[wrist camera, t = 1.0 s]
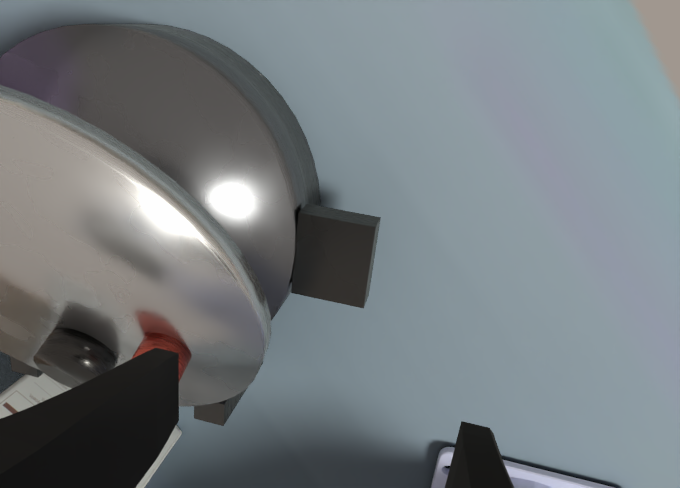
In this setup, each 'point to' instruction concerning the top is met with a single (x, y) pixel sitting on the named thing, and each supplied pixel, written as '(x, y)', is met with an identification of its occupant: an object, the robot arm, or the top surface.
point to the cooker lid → (116, 261)
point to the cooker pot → (207, 151)
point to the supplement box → (44, 388)
